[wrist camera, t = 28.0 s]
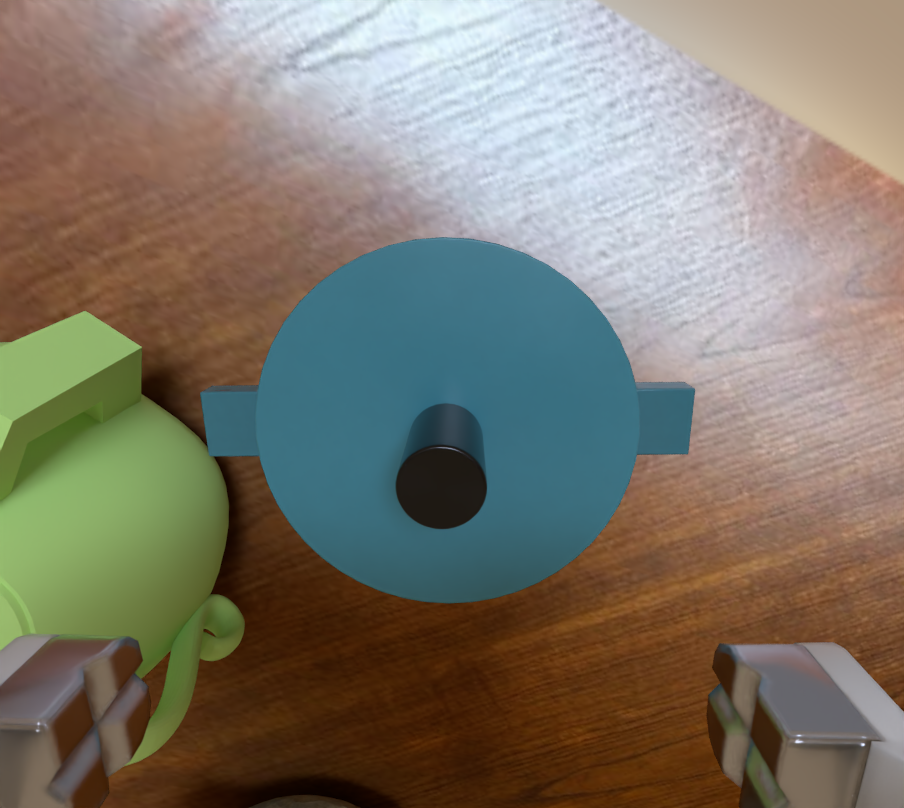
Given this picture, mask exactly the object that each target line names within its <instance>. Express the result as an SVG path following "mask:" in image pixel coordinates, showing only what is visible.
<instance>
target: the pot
mask: <svg viewBox="0 0 904 808" xmlns="http://www.w3.org/2000/svg"><path fill="white" fill-rule="evenodd" d="M635 383H636V387H637V394H638V402H639V410H640V436H639V443H638V449H637V455H650V454H688V451H689V442H690V432H691V423H692V414H693V405H694V395H695V388H693V387H691V386H690V385H688V384H687V383H685V382H635ZM258 386H259V385H244V386H211V387H209V388H207V389H206V390H204V391H202V392H201V393H200V396H201V403H202V410H203V417H204V425H205V432H206V439H207V446H208V453H209V456H259V451H258V445H257V440H256V422H255V411H256V400H257V390H258Z"/></svg>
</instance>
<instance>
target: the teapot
mask: <svg viewBox="0 0 904 808" xmlns="http://www.w3.org/2000/svg"><path fill="white" fill-rule="evenodd" d="M141 375H142V347H141V346H139V345H138V344H136V343H135V342H133V341H131V340H130V339H128V338H127V337H125V336H124V335H122V334H121V333H119V332H118V331H116V330H114V329H113V328H111V327H110V326H108V325H107V324H105V323H104V322H102V321H100V320H99V319H97V318H96V317H94V316H93V315H91V314H90V313H88V312H86V311H83V312H81V313H79V314H76V315H74V316H72V317H69V318H67V319H65V320H62V321H60V322H58V323H55V324H53V325H51V326H48V327H46V328H43V329H41V330H39V331H36V332H34V333H32V334H29V335H27V336H25V337H22V338H20V339H18V340H15V341H13V342H11V343H10V342H0V651H1V650H2V649H3V648H4V647H5V646H7V645H8V644H9V643H10V642H11V641H12V640H14V639H15V638H17V637H20V636H23V635H26V634H58V635H62V634H77V635H105V636H129V637H131V638H133V639H135V640H137V641H138V642H139V646H140V650H141V654H142V658H143V662H142V663H141V665H140V667H139V668H138V670H137V671H136V673H135V674H136V675H137V676H138V677H139V678H140V679H142V678H143V677H144V676H145V675H146V674H147V673H148V672H150V671H151V670H152V669H153V668H154V667H155V666H156V665H157V664H158V663H159V662H160V661H161V660H162V659H163V658H164V657H165V656H166V655H167V654H168V653H169V652H170V651H171V654H170V659H169V665H168V671H167V676H166V681H165V686H164V690H163V693H162V696H161V699H160V702H159V704H158V707H157V709H156V711H155V713H154V714H153V716H152V717H151V718H150V720H149V723H148V726H147V729H146V732H145V735H144V738H143V741H142V743H141V745H140V746H139V748H138V750H137V751H136V753H135V754H134V756H133V758H132V759H131V761H130V762H129V763H127V764H126V765H124V766H127V765H129V764H132V763H135V762H138V761H140V760H142V759H144V758H146V757H148V756H150V755H151V754H153V753H154V752H155V751H157V750H158V749H159V748H160V747H161V746H163V745H164V744H165V743H166V742H167V741H168V739H169V738H170V737H171V736H172V735H173V733H174V732H175V731H176V729H177V728H178V726H179V725H180V723H181V721H182V720H183V718H184V716H185V714H186V711H187V709H188V707H189V704H190V701H191V698H192V695H193V691H194V687H195V683H196V678H197V673H198V667H199V660H200V658H201V659H203V660H206V661H216V660H219V659H222V658H224V657H226V656H227V655H229V654H230V653H231V652H233V651H234V649H235V648H236V647H237V646H238V645H239V643H240V642H241V639H242V637H243V634H244V628H245V622H244V618H243V616H242V614H241V612H240V610H239V609H238V607H237V606H236V605H235V604H234V603H233V602H232V601H231V600H229V599H228V598H226V597H224V596H222V595H218V594H211V592H212V590H213V587H214V584H215V582H216V579H217V576H218V573H219V570H220V566H221V562H222V558H223V554H224V550H225V546H226V540H227V533H228V526H229V501H228V495H227V488H226V484H225V481H224V478H223V475H222V473H221V470H220V467H219V465H218V463H217V462H216V460H215V458H214V456H209V453H208V447H207V446H206V445H205V444H204V443H203V441H202V440H201V439H200V438H199V437H198V436H197V435H196V434H195V433H194V432H193V431H191V430H190V429H189V428H188V427H187V426H186V425H184V424H183V423H182V422H181V421H180V420H178V419H177V418H176V417H174V416H173V415H171V414H170V413H169V412H167V411H166V410H164V409H163V408H162V407H160V406H159V405H157V404H156V403H155V402H153V401H152V400H150V399H149V398H147V397H145V396H144V395H142V394H141ZM204 629H207V630H209V631H211V632H212V633H213V634H214V635H215V636H216V637H214V636H212V635H210V634H208V633H206V632H203V630H204Z"/></svg>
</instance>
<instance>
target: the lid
mask: <svg viewBox="0 0 904 808" xmlns="http://www.w3.org/2000/svg"><path fill="white" fill-rule="evenodd" d="M255 422H256V440H257V445H258V451H259V456H260V461H261V465H262V468H263V471H264V474H265V477H266V480H267V483H268V485H269V488H270V490H271V492H272V494H273V496H274V498H275V500H276V502H277V504H278V506H279V508H280V509H281V511H282V512H283V514H284V515H285V517H286V518H287V520H288V522H289V523H290V525H291V526H292V527H293V528H294V529H295V531H296V532H297V533H298V534H299V535H300V537H301V538H302V539H303V540H304V541H305V542H306V543H307V544H308V545H309V546H310V547H311V548H312V549H313V550H314V551H315V552H316V553H317V554H318V555H319V556H321V557H322V558H323V559H324V560H326V561H327V562H328V563H330V564H331V565H332V566H334V567H335V568H337V569H338V570H339V571H341V572H342V573H344V574H346V575H348V576H349V577H351V578H353V579H355V580H357V581H358V582H360V583H362V584H365V585H367V586H369V587H372V588H374V589H377V590H379V591H381V592H385V593H388V594H391V595H395V596H398V597H402V598H406V599H412V600H418V601H423V602H435V603H465V602H475V601H481V600H487V599H493V598H497V597H501V596H504V595H507V594H511V593H514V592H517V591H520V590H522V589H524V588H527V587H529V586H532V585H534V584H536V583H538V582H540V581H542V580H544V579H545V578H547V577H549V576H551V575H552V574H554V573H556V572H558V571H559V570H560V569H562V568H563V567H564V566H566V565H567V564H568V563H570V562H571V561H572V560H574V559H575V558H576V557H577V556H578V555H580V554H581V553H582V552H583V551H584V550H585V549H586V548H587V547H588V546H589V545H590V544H591V543H592V542H593V541H594V540H595V538H596V537H597V536H598V535H599V534H600V532H601V531H602V530H603V529H604V527H605V526H606V525H607V524H608V522H609V520H610V519H611V517H612V516H613V514H614V512H615V511H616V509H617V507H618V506H619V504H620V502H621V500H622V498H623V495H624V493H625V491H626V489H627V486H628V484H629V482H630V478H631V475H632V471H633V468H634V465H635V461H636V456H637V449H638V443H639V436H640V410H639V402H638V394H637V387H636V383H635V380H634V376H633V372H632V369H631V365H630V362H629V360H628V358H627V355H626V353H625V351H624V348H623V346H622V344H621V342H620V340H619V338H618V336H617V335H616V333H615V331H614V330H613V328H612V327H611V325H610V323H609V322H608V320H607V318H606V317H605V316H604V315H603V314H602V312H601V311H600V310H599V309H598V308H597V306H596V305H595V304H594V303H593V301H592V300H591V299H590V298H589V297H588V296H587V295H586V294H585V293H584V292H582V291H581V290H580V289H579V288H578V287H577V286H576V285H575V284H574V283H573V282H572V281H570V280H569V279H568V278H566V277H565V276H563V275H562V274H560V273H559V272H557V271H556V270H555V269H553V268H552V267H550V266H549V265H547V264H545V263H543V262H541V261H539V260H537V259H535V258H533V257H531V256H529V255H527V254H525V253H523V252H520V251H517V250H514V249H511V248H508V247H505V246H502V245H499V244H495V243H490V242H485V241H480V240H474V239H466V238H448V237H439V238H427V239H415V240H411V241H406V242H402V243H397V244H393V245H388V246H386V247H383V248H380V249H378V250H375V251H372V252H370V253H367V254H364V255H362V256H360V257H358V258H357V259H355V260H353V261H351V262H349V263H347V264H345V265H344V266H342V267H340V268H338V269H337V270H336V271H334V272H333V273H332V274H330V275H329V276H328V277H326V278H325V279H324V280H322V281H321V282H320V283H318V284H317V285H316V286H315V287H314V288H313V289H312V290H311V291H310V292H309V293H308V294H307V295H306V296H305V297H304V298H303V299H302V300H301V301H300V302H299V303H298V304H297V306H296V307H295V308H294V310H293V311H292V312H291V314H290V315H289V316H288V318H287V319H286V320H285V321H284V323H283V325H282V327H281V328H280V330H279V332H278V334H277V336H276V337H275V339H274V341H273V343H272V345H271V347H270V350H269V352H268V355H267V358H266V360H265V363H264V365H263V368H262V373H261V377H260V381H259V386H258V390H257V400H256V411H255Z"/></svg>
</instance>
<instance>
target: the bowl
mask: <svg viewBox="0 0 904 808" xmlns="http://www.w3.org/2000/svg"><path fill="white" fill-rule="evenodd" d="M249 808H360V807H358V806H355V805H353V804H351V803H348V802H346V801H343V800H339V799H335V798H330V797H325V796H317V795H292V796H285V797H279V798H275V799H271V800H268V801H264V802H262V803H259V804H256V805H254V806H251V807H249Z"/></svg>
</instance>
